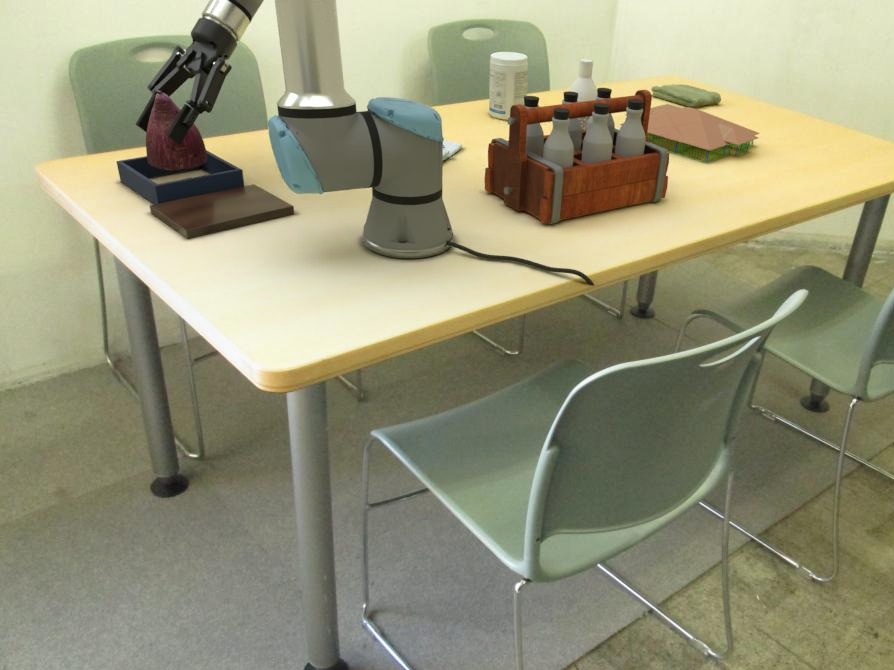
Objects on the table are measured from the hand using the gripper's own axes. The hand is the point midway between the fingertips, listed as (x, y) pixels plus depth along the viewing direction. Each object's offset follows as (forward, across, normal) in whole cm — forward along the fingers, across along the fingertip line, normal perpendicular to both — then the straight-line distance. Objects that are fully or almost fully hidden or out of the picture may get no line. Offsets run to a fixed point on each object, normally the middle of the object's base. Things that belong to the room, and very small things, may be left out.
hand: (157, 134), depth 153 cm
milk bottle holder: (-30, -56, -46) cm, 79 cm away
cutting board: (+8, -16, -7) cm, 20 cm away
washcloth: (-95, -34, -110) cm, 149 cm away
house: (-68, -54, -83) cm, 120 cm away
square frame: (+5, 0, -10) cm, 11 cm away
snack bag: (-28, -15, -43) cm, 53 cm away
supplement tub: (-57, -10, -72) cm, 93 cm away
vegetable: (+2, 0, -6) cm, 7 cm away
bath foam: (-49, -40, -64) cm, 90 cm away
